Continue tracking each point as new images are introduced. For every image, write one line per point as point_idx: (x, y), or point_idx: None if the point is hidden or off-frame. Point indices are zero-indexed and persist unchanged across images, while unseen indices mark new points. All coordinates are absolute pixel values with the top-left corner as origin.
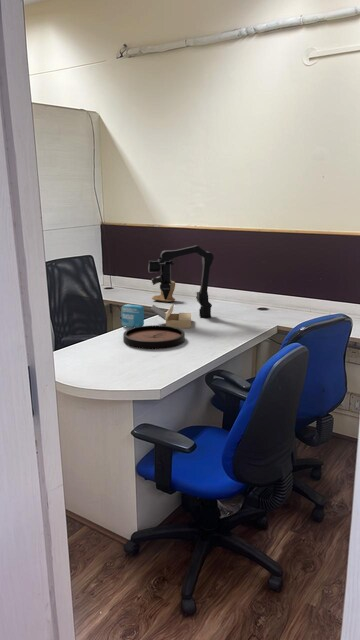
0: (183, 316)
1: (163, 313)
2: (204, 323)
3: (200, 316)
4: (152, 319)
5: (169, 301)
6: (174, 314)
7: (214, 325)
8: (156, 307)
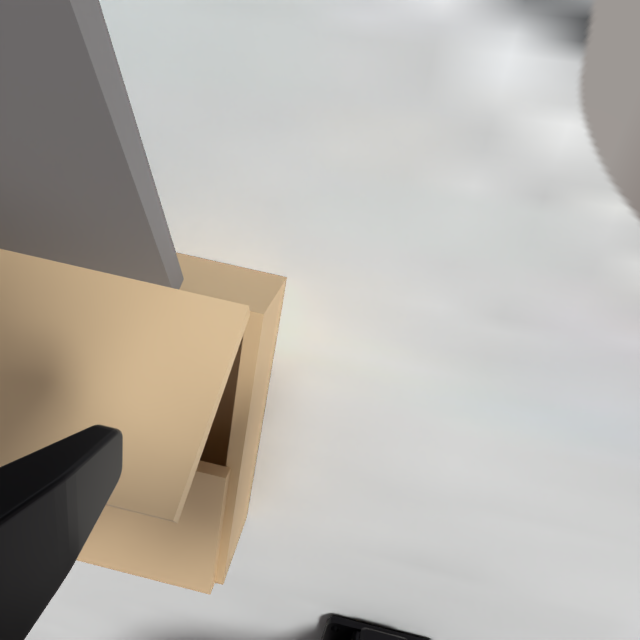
0: None
1: (25, 223)
2: (117, 579)
3: (350, 628)
4: (361, 36)
5: None
6: (237, 404)
7: (55, 618)
8: (20, 74)
